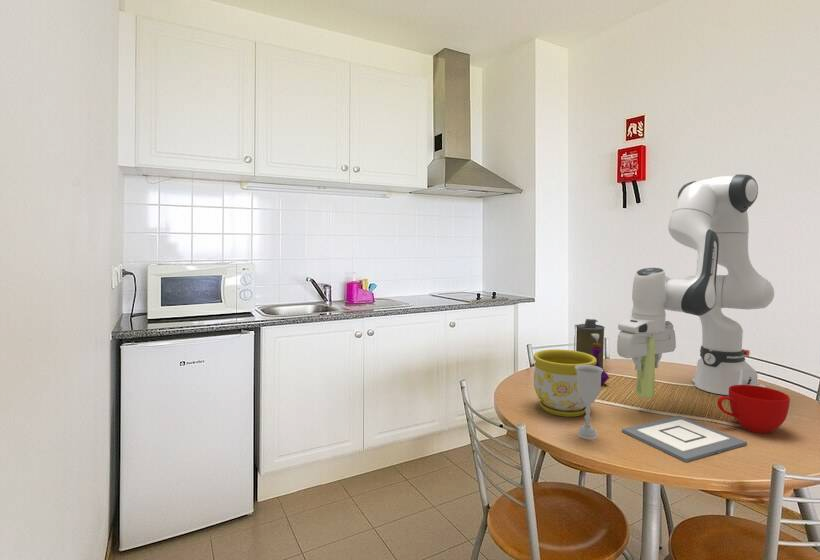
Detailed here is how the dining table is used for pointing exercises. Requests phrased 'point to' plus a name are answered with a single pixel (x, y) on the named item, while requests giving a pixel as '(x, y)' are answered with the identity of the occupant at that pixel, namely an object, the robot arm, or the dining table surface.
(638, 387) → the tube
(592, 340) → the canister
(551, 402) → the flowerpot
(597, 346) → the perfume bottle
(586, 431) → the chalice
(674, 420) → the picture frame
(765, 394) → the ceramic cup
